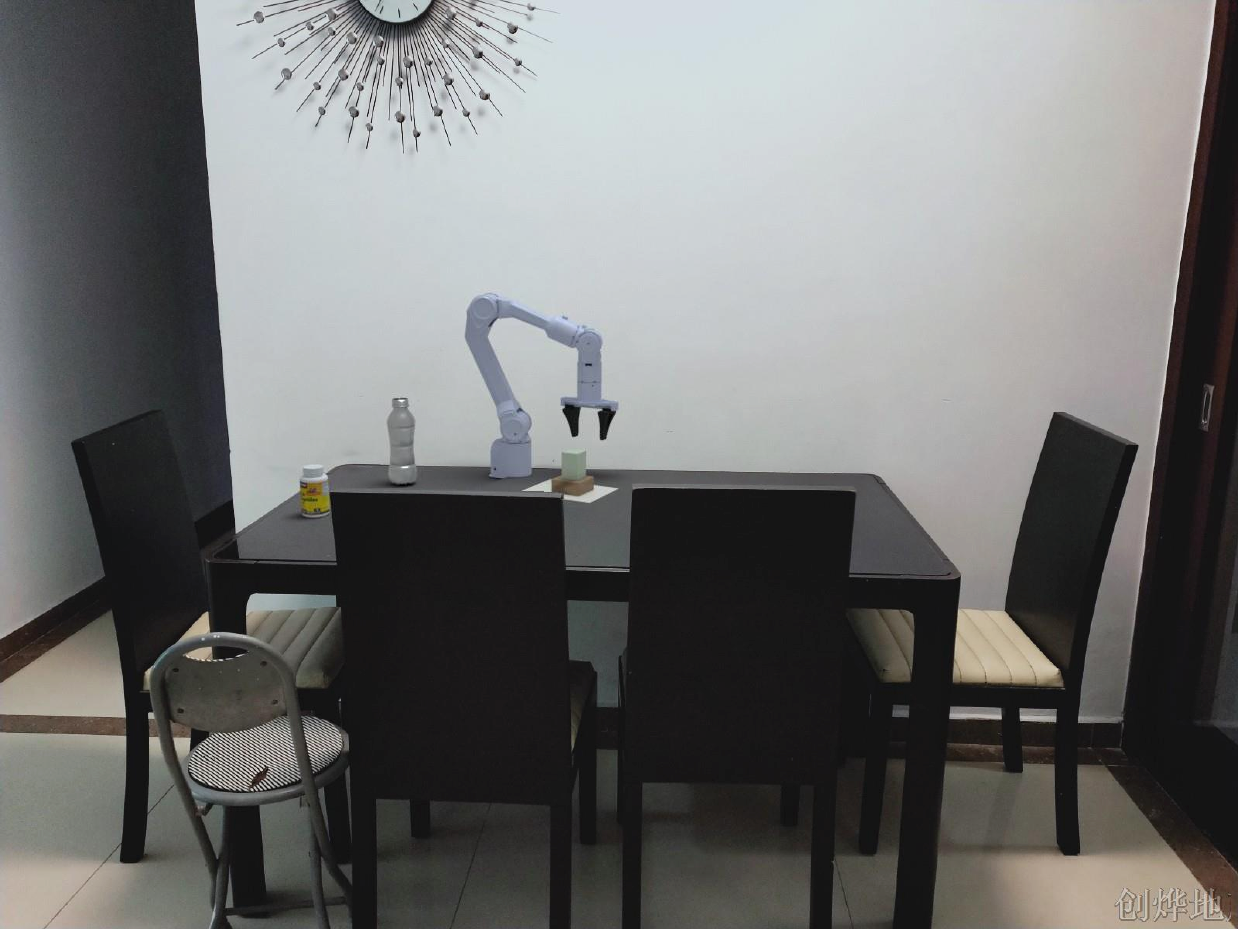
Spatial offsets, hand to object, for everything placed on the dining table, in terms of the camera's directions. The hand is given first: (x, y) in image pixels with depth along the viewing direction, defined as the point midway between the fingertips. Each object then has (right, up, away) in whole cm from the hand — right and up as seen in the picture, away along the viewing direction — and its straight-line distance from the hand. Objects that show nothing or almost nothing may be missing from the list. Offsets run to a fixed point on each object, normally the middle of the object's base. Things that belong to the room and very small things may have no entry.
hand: (588, 438), depth 225 cm
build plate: (-4, -13, -12) cm, 18 cm away
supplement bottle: (-55, -17, -31) cm, 65 cm away
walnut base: (-3, -12, -13) cm, 18 cm away
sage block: (-3, -9, -13) cm, 16 cm away
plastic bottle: (-43, -11, -5) cm, 45 cm away
